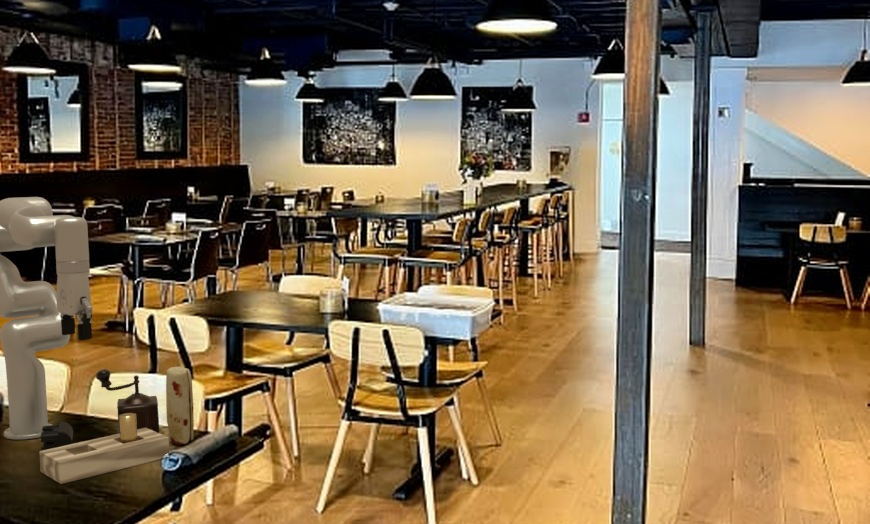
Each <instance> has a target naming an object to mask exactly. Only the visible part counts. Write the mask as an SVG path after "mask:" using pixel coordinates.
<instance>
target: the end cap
mask: <svg viewBox="0 0 870 524" xmlns="http://www.w3.org/2000/svg"><path fill="white" fill-rule="evenodd" d="M42 431H43V432H41V437H40V443H43V445H42V446H41V448H40V449H41V450H40V451H43V450H48V449H52V448H57V447H61V446H66V445H70V444H73V437H74V430H73V427H72V425H71V424H69V423H68V422H65V421H59V424H52V425H50V426H43V428H42Z"/></svg>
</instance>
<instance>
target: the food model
mask: <svg viewBox="0 0 870 524" xmlns="http://www.w3.org/2000/svg"><path fill="white" fill-rule="evenodd" d="M165 376H166V379H165V381H166V382H165V383H166V384H165V392H166V393H165V397H166V398H165V399H166V401H165V403H166V404H165V405H166V423H167V428H168V435H169V436H168V437H169V439H170V440H171V443H172V444H173V445H177V446H180V445H185V444H188V443H189V441H193V440H194V431H195V426H194V424H195V423H194V422H195V421H194V418H195V417H194V397H193V396H194V393H193V380H192V379H193V378H192V374H191V370H190V369H189V368H186V367H181V366H172V367H169V368H168V369H167V370H166V375H165Z"/></svg>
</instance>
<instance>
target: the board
mask: <svg viewBox="0 0 870 524" xmlns="http://www.w3.org/2000/svg"><path fill="white" fill-rule="evenodd" d="M169 440H170V436H167V435H165V434H162V433H160V432H159V433H157V432H155V431H153V430H150V429H148V428H142V429H138V430H137V441H133V442H129V443H124V444H123V443H121V442H120V434H118V433H116V434H110V435H107V436H104V437H103V436H102V437H98V438H93V439H90V440H89V439H88V440H84V441H79V442H74V443H72V444H70V445H66V446H61V447H57V448H52V449H48V450H43V451H42V450H40V451H39V453H38V454H39V465H40V467H39V468H40V470H39V471H40V473H42V474H44V475H45V476H47V477H49V478H50V479H52V480H53V481H55V482H57V483H59V484H60V485H63V484H67V483H71V482H75V481H78V480H84V479H88V478H90V477H91V478H92V477H94V476H98V475H99V476H100V475H103V474H106V473H110V472H111V473H112V472H116V471H119V470H122V469H127V468H131V467H135V466H139V465H143V464H147V463H151V462H155V461H159V460H162V459H161V458H162V457H163V456H164V455H165V454H167V453H169V454H170V441H169Z"/></svg>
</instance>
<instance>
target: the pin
mask: <svg viewBox="0 0 870 524" xmlns="http://www.w3.org/2000/svg"><path fill="white" fill-rule="evenodd" d="M119 422H120V442H121V443H123V444H124V443H129V442H133V441H137V419H136V414H135V413H125V414H121V415H119Z"/></svg>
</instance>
